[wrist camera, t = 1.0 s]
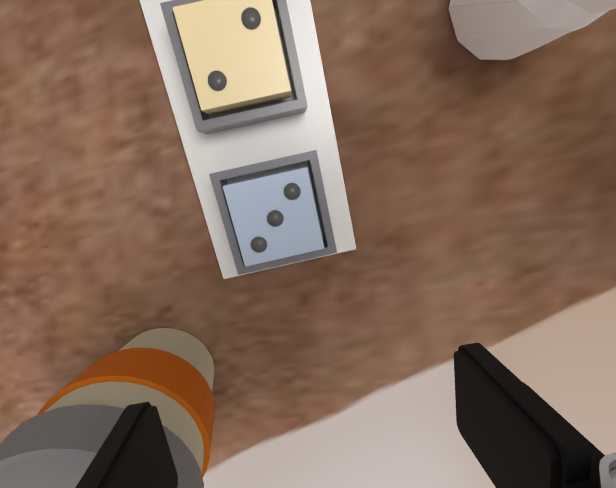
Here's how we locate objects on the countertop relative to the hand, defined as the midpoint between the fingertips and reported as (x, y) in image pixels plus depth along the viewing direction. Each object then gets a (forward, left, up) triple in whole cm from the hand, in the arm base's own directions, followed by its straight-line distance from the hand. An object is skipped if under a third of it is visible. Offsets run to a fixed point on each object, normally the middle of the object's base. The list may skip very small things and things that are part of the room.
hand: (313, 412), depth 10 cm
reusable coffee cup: (+15, +9, -21) cm, 27 cm away
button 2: (+1, -15, -18) cm, 23 cm away
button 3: (+1, -4, -18) cm, 18 cm away
